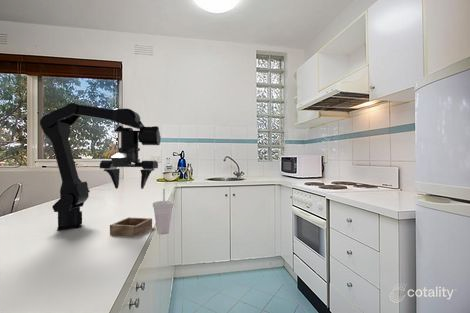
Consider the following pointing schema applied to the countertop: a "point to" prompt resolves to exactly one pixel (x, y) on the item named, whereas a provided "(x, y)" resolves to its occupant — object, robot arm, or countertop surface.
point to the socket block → (131, 226)
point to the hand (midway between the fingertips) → (129, 188)
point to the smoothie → (163, 215)
